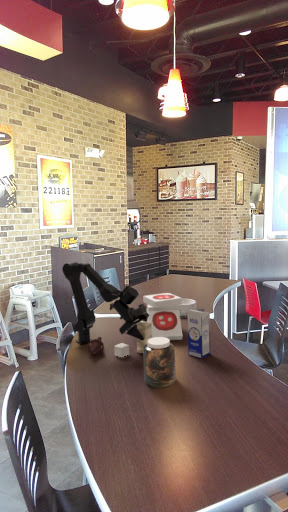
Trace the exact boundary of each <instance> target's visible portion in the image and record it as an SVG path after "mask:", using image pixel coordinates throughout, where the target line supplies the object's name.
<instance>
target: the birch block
mask: <svg viewBox="0 0 288 512" xmlns="http://www.w3.org/2000/svg"><path fill="white" fill-rule="evenodd" d="M137 329H138V331H139V332H140V333H141V335H142V336H143V338H144V340H143V341H142V340H140V339H138V338H136V352H138V353H137V354H141V353H143V350H144V346H145V345H146V344H148V340H149V339H151V338H152V325H151V322H148V321H147V322H145V321H141V322H139V323H137Z"/></svg>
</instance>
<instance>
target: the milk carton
mask: <svg viewBox="0 0 288 512" xmlns="http://www.w3.org/2000/svg"><path fill="white" fill-rule="evenodd" d="M210 314H211V313H210V312H207V311H205V309H204V308H197V309H196V310H187V316H186V317H187V342H188V343H187V345H188V347H187V348H188V349H187V350H188V352H187V354H188V356H191V357H195V358H198V359H204V358H205V357H207V356H209V355H211V315H210Z"/></svg>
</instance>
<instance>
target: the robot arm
mask: <svg viewBox="0 0 288 512" xmlns="http://www.w3.org/2000/svg"><path fill="white" fill-rule="evenodd" d="M61 269H62V272H63V275H64V278H66V279H67V280H68V282H69V283H70V288H71V291H72V294H73V297H74V301H75V305H76V308H77V315H76V321H77V322H76V323H75V324H74V326H73V328H72V329H73V331H74V332H76V333H77V339H76V340H75V342H77V343H78V344H80V345H85V344H88V343H89V342H91V341H92V340H93V339H91V331H90V330H91V328H93V327H94V324H95V322H96V317H97V316H96V315H95V311H94V309H90V308H89V306H88V303H87V299H86V296H85V292H84V289H83V285H82V282H81V276H82V275H81V274H83V275H84V276H85V277H86V278H87V279H88V280H89V281H90V282H91V283H92V284H93V285H94V287H95V288H97V290H98V291H99V294H100V295H99V296H101V298H102V299H103V301H104V302H105V303H110V304H109V311H112V310H115V311H116V312H117V314H118V315H119V319H120V320H123V321H124V323H123V324H122V325H121V326H120V327H119V329H118V331H119V334H120V335H121V336H123V335H129V336H131V337H133V338H135V339H137V338H138V339H140V340H142V341H143V340H144V338H143V336H142V335H141V333H140V332H139V331H138V329H137V323H139V322H141V321H145V322H148V321H147V319H148V317H149V316H150V315H149V314H148V313H147V305H145V304H144V303H140V304H139V305H138V307H137V308H135V307H130V306H129V305H132V303H134V301H135V300H136V299H137V298H138V297H139V291H138V290H137V288H136V289H135V288H134V287H132V286H130V285H126V286H125V287H124V288H123V290H119V288H117V287H116V286H114V285H112V284H110V283H108V282H107V281H105V279H104V278H103V277H102V276H101V275H100V274H99V273H98V272H97V270H95V269H94V268H93V267H92V265H91V264H90V263H88V262H86V263H82V262H81V263H79V262H77V261H72V262H67V263H64V264H63V266H62V267H61ZM113 301H114V302H113Z"/></svg>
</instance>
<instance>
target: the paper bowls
mask: <svg viewBox="0 0 288 512" xmlns="http://www.w3.org/2000/svg"><path fill="white" fill-rule="evenodd" d="M197 306H198V305H197V301H196V300H194V299H191V298H182V304H180V305H178V310H179V315H180V317H188V316H187V310H196V311H197Z"/></svg>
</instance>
